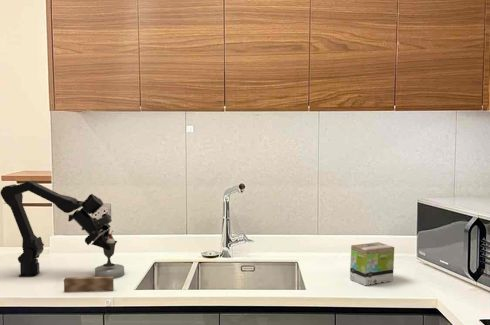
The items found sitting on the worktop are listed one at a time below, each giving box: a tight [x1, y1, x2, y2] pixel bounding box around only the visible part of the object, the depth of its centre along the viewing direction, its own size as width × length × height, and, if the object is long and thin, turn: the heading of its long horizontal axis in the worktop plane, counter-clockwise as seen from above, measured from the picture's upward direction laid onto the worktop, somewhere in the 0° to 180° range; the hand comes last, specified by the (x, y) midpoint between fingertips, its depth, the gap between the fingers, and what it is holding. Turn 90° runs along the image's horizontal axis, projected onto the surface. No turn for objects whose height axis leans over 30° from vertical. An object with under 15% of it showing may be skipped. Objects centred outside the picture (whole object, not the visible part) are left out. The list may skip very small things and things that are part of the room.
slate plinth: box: [94, 263, 125, 280], centre depth 202 cm, size 12×12×3 cm
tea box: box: [349, 241, 395, 286], centre depth 196 cm, size 15×10×15 cm, turn 117°
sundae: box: [102, 230, 118, 267], centre depth 202 cm, size 7×7×15 cm
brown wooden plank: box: [63, 276, 115, 293], centre depth 182 cm, size 18×2×5 cm, turn 95°
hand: (112, 247), depth 202 cm, fingers closed on sundae, 6 cm apart
